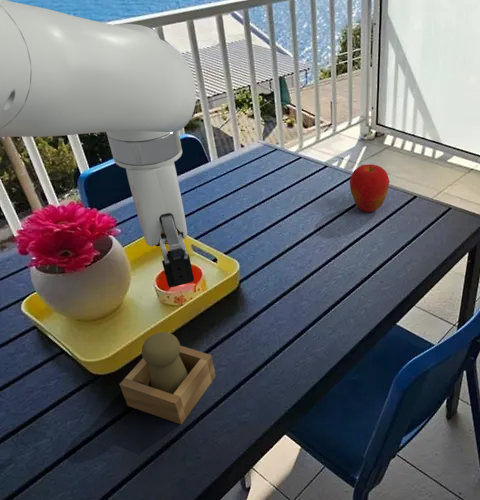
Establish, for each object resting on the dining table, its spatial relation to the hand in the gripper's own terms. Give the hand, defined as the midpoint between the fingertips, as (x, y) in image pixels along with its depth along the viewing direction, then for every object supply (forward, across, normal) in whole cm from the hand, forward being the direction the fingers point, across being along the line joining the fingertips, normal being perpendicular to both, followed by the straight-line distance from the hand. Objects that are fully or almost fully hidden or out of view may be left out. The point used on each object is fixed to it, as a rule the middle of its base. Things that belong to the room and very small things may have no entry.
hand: (173, 262), depth 67 cm
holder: (+22, +2, -4) cm, 23 cm away
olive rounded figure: (+22, +2, -4) cm, 23 cm away
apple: (+22, -32, +48) cm, 62 cm away
